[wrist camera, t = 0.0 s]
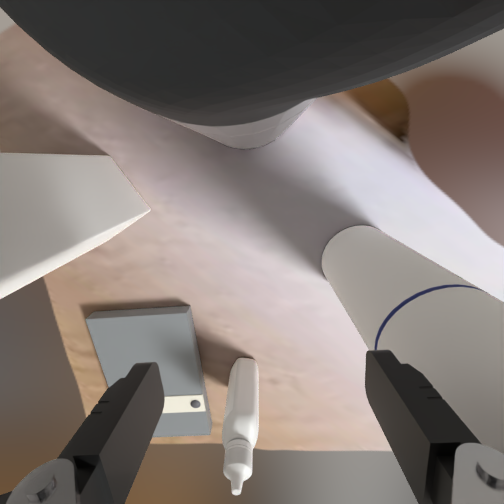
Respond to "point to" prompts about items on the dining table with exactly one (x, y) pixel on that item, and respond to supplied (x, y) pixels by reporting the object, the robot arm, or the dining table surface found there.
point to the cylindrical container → (425, 322)
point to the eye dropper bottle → (241, 421)
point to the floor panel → (157, 361)
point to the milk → (58, 211)
